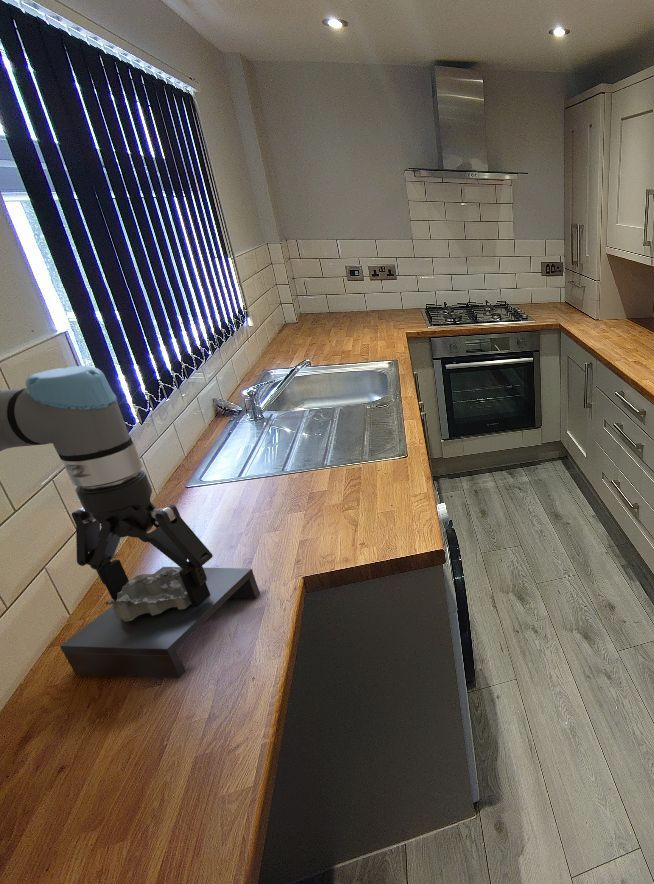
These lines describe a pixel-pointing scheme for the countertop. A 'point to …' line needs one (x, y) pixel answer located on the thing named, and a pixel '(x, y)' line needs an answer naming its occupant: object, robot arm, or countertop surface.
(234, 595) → the shelf
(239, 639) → the countertop surface
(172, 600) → the egg carton
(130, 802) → the countertop surface
